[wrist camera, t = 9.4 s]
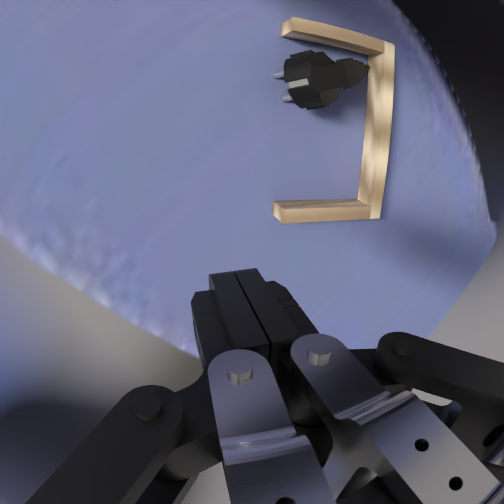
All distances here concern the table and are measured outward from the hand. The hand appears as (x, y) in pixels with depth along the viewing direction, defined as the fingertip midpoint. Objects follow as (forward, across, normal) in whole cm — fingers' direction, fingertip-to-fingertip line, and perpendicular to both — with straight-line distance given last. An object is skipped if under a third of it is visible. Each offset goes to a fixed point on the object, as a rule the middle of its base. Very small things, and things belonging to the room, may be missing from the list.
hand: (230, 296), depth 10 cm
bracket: (+22, -16, -5) cm, 28 cm away
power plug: (+23, -15, -10) cm, 29 cm away
